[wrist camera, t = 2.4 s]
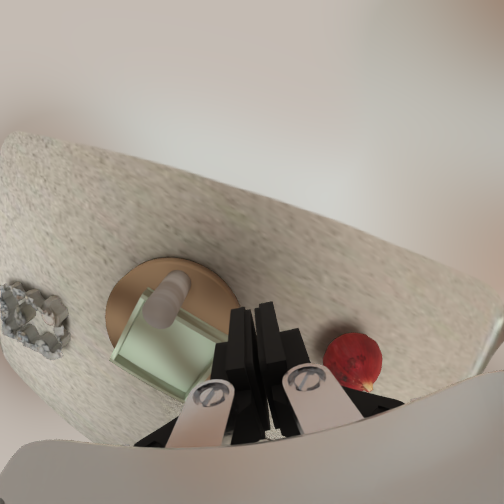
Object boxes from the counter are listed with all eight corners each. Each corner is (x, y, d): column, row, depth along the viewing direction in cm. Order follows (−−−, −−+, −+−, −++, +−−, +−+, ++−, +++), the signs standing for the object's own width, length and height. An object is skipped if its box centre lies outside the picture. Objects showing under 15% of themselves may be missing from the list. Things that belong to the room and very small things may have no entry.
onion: (308, 362, 29) (325, 411, 21) (326, 315, 27) (352, 359, 20) (354, 366, 29) (380, 412, 21) (373, 323, 28) (408, 363, 20)
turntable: (201, 395, 28) (192, 449, 20) (97, 333, 26) (61, 375, 18) (271, 307, 26) (281, 355, 18) (147, 229, 24) (107, 249, 16)
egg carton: (72, 299, 27) (53, 313, 23) (73, 352, 28) (58, 369, 24) (11, 273, 26) (-9, 282, 22) (15, 323, 27) (-2, 336, 23)
